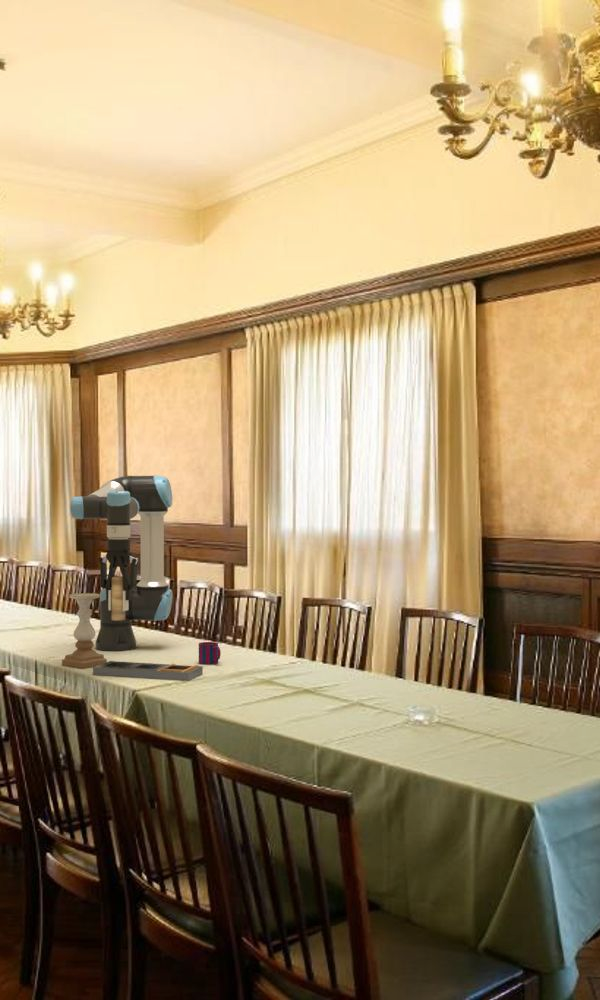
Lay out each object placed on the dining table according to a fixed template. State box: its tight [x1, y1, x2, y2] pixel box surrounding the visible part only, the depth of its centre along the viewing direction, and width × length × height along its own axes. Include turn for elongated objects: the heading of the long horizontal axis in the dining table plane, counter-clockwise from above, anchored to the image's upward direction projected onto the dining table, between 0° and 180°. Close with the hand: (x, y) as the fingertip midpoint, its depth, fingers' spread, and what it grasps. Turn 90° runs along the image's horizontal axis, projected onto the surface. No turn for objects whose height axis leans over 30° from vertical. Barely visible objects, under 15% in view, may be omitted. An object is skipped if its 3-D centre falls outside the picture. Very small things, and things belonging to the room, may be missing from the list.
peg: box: [112, 575, 125, 621], centre depth 328 cm, size 4×4×14 cm
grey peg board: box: [92, 660, 204, 682], centre depth 326 cm, size 12×33×3 cm, turn 74°
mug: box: [198, 641, 222, 666], centre depth 346 cm, size 7×10×7 cm
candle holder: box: [61, 592, 108, 669], centre depth 343 cm, size 11×11×24 cm
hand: (118, 609), depth 328 cm, fingers closed on peg, 4 cm apart
